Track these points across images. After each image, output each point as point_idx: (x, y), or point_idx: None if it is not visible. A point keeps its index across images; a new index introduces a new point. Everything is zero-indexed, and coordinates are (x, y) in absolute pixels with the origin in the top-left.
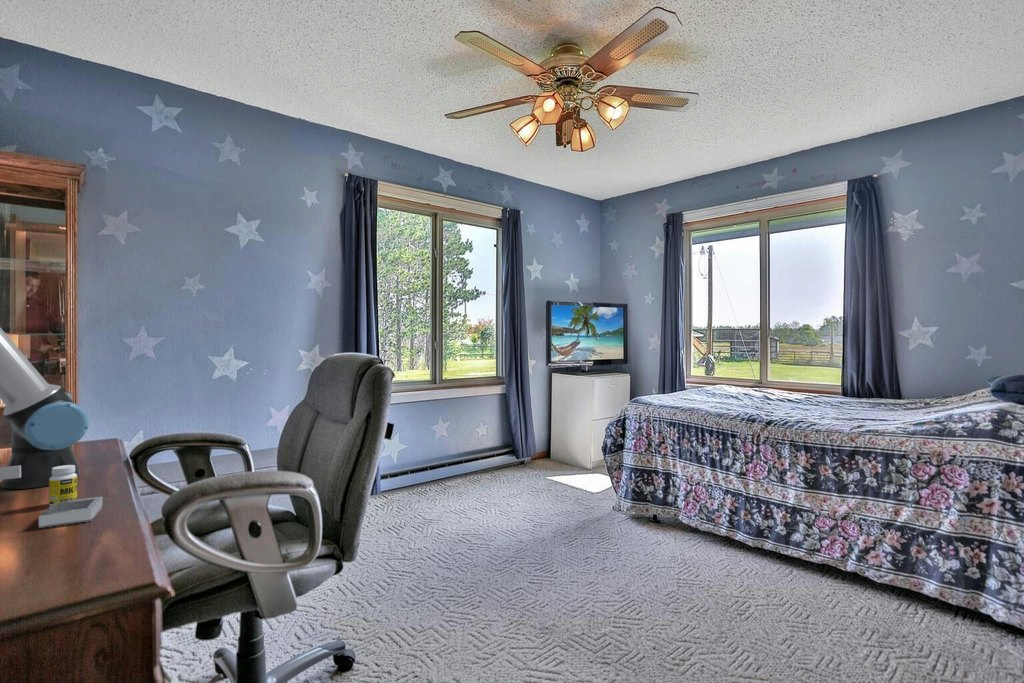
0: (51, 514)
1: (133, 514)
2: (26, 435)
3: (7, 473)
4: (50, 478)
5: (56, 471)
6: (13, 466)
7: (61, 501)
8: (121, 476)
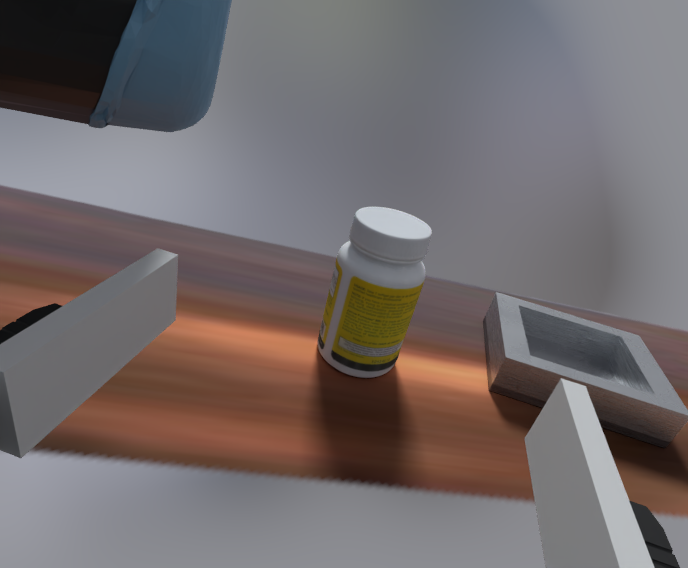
0: (675, 393)
1: (579, 311)
2: (158, 19)
3: (140, 321)
4: (398, 281)
5: (423, 247)
6: (154, 266)
7: (506, 347)
8: (92, 209)
